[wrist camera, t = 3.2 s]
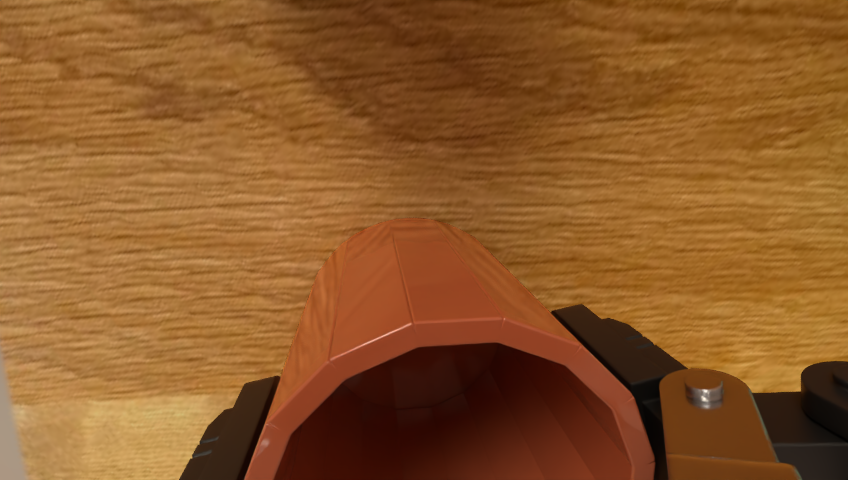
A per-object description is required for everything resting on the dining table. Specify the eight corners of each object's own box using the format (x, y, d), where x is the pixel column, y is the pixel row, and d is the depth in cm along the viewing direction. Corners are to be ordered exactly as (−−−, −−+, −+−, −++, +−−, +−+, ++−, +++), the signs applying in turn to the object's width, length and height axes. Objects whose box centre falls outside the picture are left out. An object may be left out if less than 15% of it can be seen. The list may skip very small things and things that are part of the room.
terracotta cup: (263, 324, 15) (145, 545, 7) (408, 173, 14) (460, 225, 6) (412, 443, 16) (454, 734, 8) (549, 310, 16) (729, 488, 8)
